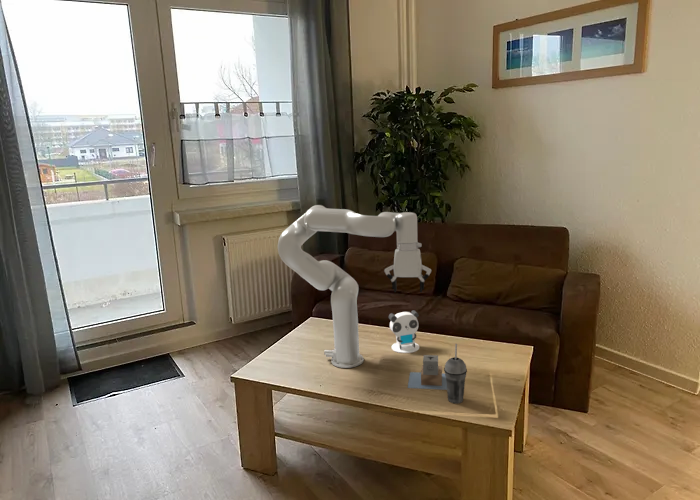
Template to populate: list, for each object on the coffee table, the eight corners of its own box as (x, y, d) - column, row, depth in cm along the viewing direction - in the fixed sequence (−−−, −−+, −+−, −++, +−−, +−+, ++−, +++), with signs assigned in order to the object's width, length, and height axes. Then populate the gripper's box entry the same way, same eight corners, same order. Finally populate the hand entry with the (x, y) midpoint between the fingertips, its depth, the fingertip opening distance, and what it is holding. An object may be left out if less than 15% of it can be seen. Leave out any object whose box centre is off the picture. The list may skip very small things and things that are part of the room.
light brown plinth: (421, 384, 183) (420, 374, 182) (422, 375, 189) (422, 365, 188) (441, 385, 181) (441, 375, 180) (442, 376, 188) (441, 366, 187)
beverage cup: (442, 406, 170) (441, 348, 165) (446, 395, 177) (446, 339, 172) (465, 409, 167) (465, 351, 163) (468, 398, 174) (468, 342, 169)
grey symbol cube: (438, 368, 185) (438, 355, 184) (437, 375, 180) (437, 361, 179) (423, 368, 186) (423, 354, 185) (423, 374, 181) (422, 361, 180)
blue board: (407, 390, 181) (407, 387, 181) (410, 374, 193) (410, 372, 193) (455, 392, 178) (455, 390, 178) (454, 376, 190) (454, 373, 190)
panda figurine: (395, 355, 210) (394, 319, 206) (386, 344, 221) (385, 310, 217) (423, 350, 212) (422, 315, 209) (413, 340, 223) (412, 306, 220)
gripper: (431, 244, 195) (431, 288, 199) (384, 244, 198) (386, 287, 202) (430, 248, 188) (431, 294, 192) (382, 248, 191) (383, 294, 195)
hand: (408, 291), depth 197 cm, fingers open, 9 cm apart
